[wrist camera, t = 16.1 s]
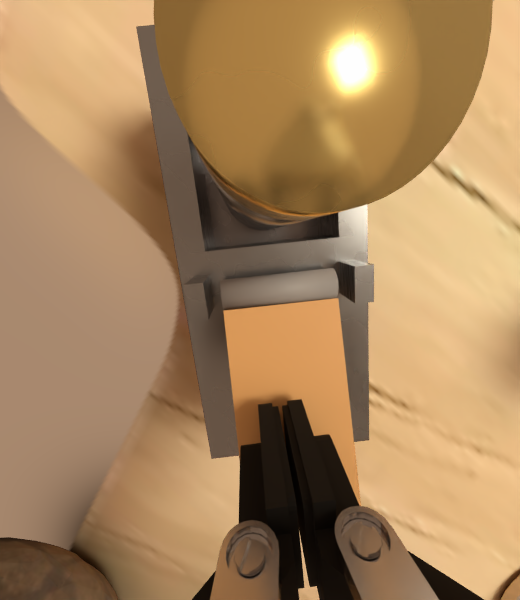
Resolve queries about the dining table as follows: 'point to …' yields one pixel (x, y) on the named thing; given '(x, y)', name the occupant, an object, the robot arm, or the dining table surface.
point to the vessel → (48, 573)
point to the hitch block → (249, 263)
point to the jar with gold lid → (318, 95)
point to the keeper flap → (289, 355)
